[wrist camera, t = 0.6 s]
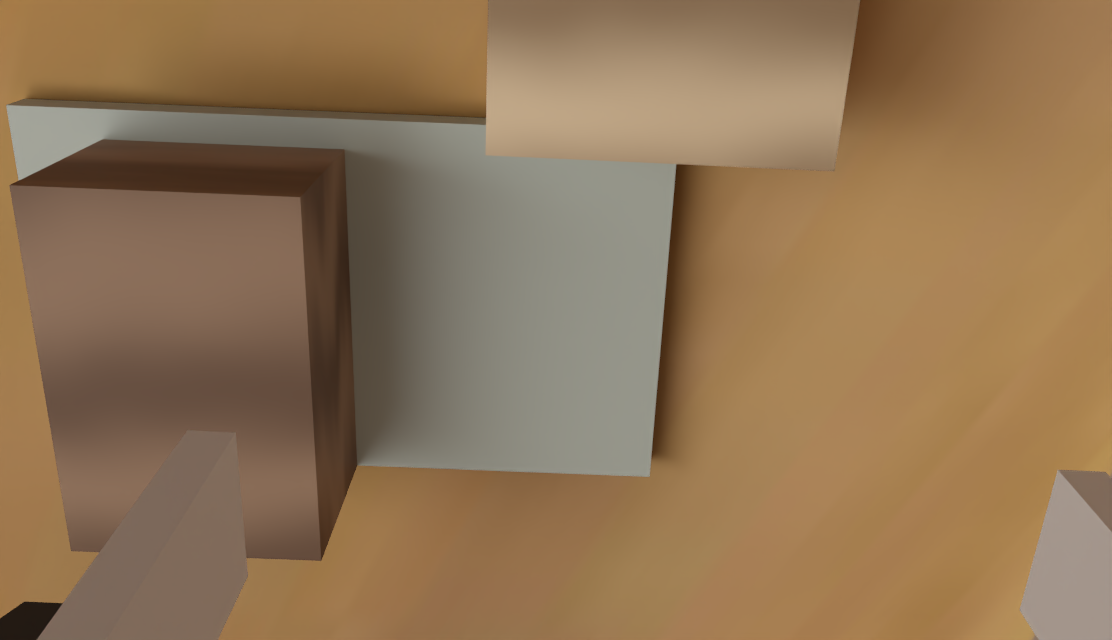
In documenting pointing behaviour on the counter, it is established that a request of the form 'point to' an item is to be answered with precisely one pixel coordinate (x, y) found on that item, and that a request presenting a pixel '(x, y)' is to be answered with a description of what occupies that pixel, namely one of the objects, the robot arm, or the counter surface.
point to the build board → (459, 280)
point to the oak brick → (670, 80)
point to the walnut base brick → (195, 327)
